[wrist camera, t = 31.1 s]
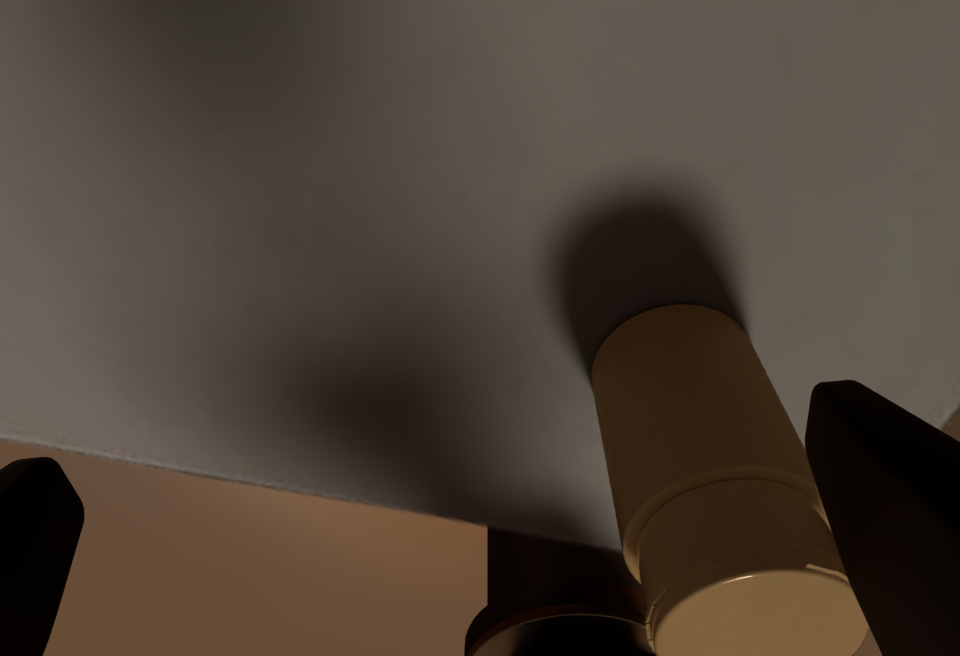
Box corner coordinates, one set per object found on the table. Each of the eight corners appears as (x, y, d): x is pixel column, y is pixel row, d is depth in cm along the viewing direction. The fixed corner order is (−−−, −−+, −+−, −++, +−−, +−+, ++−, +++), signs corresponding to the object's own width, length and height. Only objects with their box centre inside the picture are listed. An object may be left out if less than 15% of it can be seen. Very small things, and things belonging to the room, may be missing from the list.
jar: (702, 446, 26) (797, 720, 18) (565, 407, 25) (601, 678, 17) (785, 330, 23) (939, 594, 15) (634, 282, 22) (715, 536, 14)
